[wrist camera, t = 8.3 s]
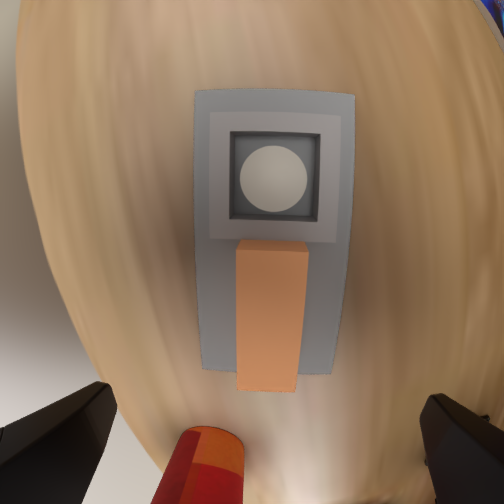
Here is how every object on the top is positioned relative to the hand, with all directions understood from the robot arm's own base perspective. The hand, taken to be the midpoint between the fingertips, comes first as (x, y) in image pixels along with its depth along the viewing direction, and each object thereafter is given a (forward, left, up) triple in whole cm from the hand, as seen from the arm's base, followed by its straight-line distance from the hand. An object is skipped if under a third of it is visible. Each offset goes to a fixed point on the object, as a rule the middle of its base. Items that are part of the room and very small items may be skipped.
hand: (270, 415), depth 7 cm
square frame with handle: (0, -2, -11) cm, 11 cm away
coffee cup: (+5, +17, -12) cm, 22 cm away
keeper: (0, -2, -12) cm, 12 cm away
